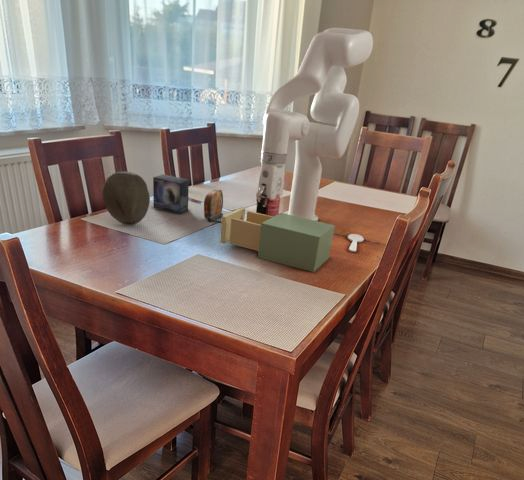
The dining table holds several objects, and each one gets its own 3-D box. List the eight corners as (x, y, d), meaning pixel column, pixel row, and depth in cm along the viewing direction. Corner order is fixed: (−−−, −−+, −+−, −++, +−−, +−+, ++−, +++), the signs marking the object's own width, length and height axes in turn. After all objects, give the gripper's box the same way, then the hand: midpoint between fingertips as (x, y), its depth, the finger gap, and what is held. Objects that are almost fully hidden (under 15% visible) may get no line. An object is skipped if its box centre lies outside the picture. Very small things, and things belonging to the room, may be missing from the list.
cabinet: (257, 257, 134) (261, 222, 129) (276, 244, 146) (280, 212, 140) (313, 272, 129) (319, 237, 124) (328, 258, 140) (335, 225, 135)
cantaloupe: (160, 225, 149) (160, 175, 141) (120, 232, 139) (118, 179, 132) (133, 213, 156) (132, 165, 149) (94, 219, 147) (90, 168, 139)
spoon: (343, 250, 148) (343, 248, 147) (348, 234, 163) (349, 232, 163) (360, 253, 147) (361, 251, 147) (364, 236, 162) (364, 235, 162)
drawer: (201, 238, 140) (202, 211, 136) (222, 228, 150) (224, 203, 146) (268, 256, 133) (272, 228, 129) (285, 244, 144) (289, 218, 140)
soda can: (278, 232, 156) (283, 191, 150) (271, 238, 151) (277, 196, 144) (258, 227, 158) (262, 187, 151) (250, 233, 152) (255, 191, 145)
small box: (152, 208, 164) (151, 176, 159) (162, 204, 169) (162, 173, 164) (179, 214, 161) (179, 182, 156) (188, 210, 166) (189, 179, 161)
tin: (210, 223, 157) (212, 197, 152) (201, 221, 157) (202, 195, 153) (223, 212, 169) (224, 187, 165) (214, 210, 170) (216, 186, 165)
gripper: (273, 164, 134) (266, 224, 143) (295, 157, 148) (287, 213, 157) (249, 159, 137) (244, 219, 146) (273, 153, 151) (267, 208, 160)
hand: (266, 216), depth 151 cm, fingers open, 8 cm apart
